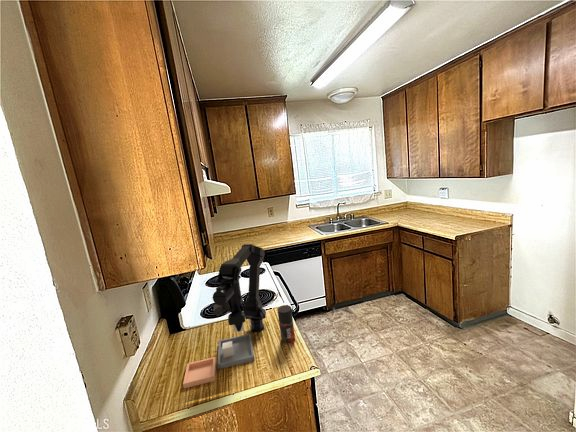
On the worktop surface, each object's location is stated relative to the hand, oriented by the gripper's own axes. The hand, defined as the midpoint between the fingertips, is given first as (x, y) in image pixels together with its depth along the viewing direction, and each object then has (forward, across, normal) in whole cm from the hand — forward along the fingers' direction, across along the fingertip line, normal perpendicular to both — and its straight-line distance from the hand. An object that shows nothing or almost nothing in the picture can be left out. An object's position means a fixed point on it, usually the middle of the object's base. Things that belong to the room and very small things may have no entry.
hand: (239, 328), depth 111 cm
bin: (+11, 0, -3) cm, 11 cm away
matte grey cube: (0, 0, 0) cm, 0 cm away
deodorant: (+11, 0, +20) cm, 23 cm away
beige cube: (+10, 0, -6) cm, 12 cm away
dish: (+11, +8, -16) cm, 21 cm away
